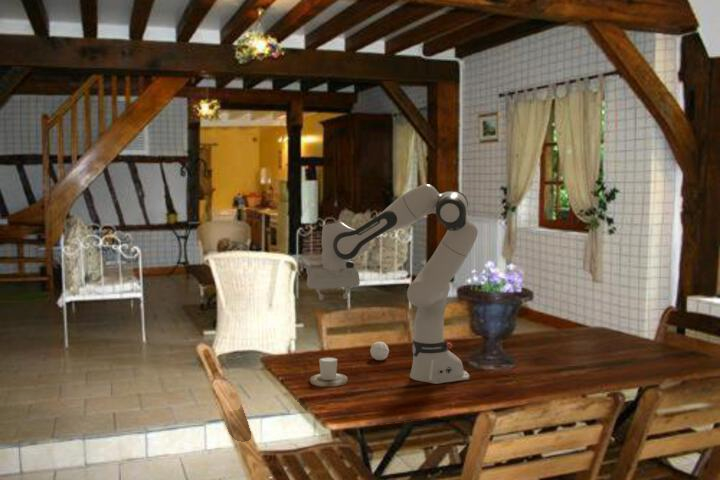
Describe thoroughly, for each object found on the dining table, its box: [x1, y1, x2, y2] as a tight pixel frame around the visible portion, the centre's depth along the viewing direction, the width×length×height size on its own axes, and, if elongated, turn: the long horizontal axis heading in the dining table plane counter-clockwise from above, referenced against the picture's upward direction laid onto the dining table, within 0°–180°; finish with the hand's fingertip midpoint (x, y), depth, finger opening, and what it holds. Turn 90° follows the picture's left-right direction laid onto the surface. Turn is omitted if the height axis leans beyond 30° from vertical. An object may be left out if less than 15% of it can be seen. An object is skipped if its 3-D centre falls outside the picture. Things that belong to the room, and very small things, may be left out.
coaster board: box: [309, 372, 348, 388], centre depth 268 cm, size 14×14×1 cm
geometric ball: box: [369, 341, 390, 361], centre depth 298 cm, size 8×8×8 cm
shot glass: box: [318, 356, 338, 380], centre depth 268 cm, size 7×7×7 cm
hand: (333, 299), depth 277 cm, fingers open, 8 cm apart
